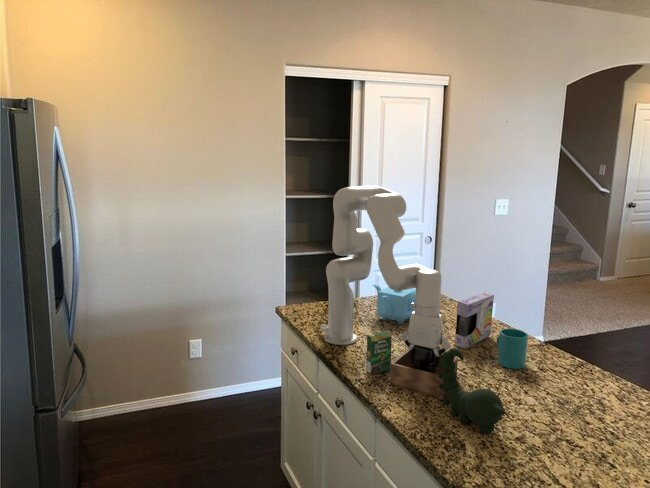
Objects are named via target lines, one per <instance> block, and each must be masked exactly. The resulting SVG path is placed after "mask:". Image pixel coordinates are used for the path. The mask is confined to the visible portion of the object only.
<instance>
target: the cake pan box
mask: <svg viewBox="0 0 650 488" xmlns="http://www.w3.org/2000/svg"><path fill="white" fill-rule="evenodd" d="M494 298H495V294H493V293H489V292H486V291H483V292H480V293H479V294H474V295H471V296H468V297H467V298H464V299H461V300H458V301H457V306H456V307H457V309H456V322H455V334H454V335H455V336H454V346H456V347H457V348H458V347H459V348H461V349H467V348H469V347H471V346H473V345H475V344H477V343H479V342H481V341H483V340H485V339H487V338H489V337H491V329H492V322H493V321H492V318H493V310H494V309H493V308H494Z"/></svg>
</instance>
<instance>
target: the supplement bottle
mask: <svg viewBox="0 0 650 488" xmlns="http://www.w3.org/2000/svg"><path fill="white" fill-rule="evenodd" d="M434 356H435V353H434V350H433V349H431V348H426V347H422V346H418V345H415V347H414V360H413V368H414V369H418V370H422V371H426V372H429V373H433V374H435V368H433V357H434Z"/></svg>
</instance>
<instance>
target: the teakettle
mask: <svg viewBox="0 0 650 488" xmlns="http://www.w3.org/2000/svg"><path fill="white" fill-rule="evenodd" d="M372 286H373V288H375V290H376V292H377V302H376V303H377V305H376V306H377V307H376V317H379V318H381V320H382V321H389V320H393V321H396V323H397V324H399V325H403V324H405V322H404V321H406V320H410V318H411V314H412V312H413V311H414V308H413V307H411V303H415V294H416V288H412V289H407V290H402V291H394V290H392V289H391V288H389V286H387V287H384V288H383V289H382V288H381V287H380V286H379V285H377V284H372Z"/></svg>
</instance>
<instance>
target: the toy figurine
mask: <svg viewBox="0 0 650 488" xmlns="http://www.w3.org/2000/svg"><path fill="white" fill-rule="evenodd" d="M454 357H457V358H458V359H460V360H461V361H464V355H463V352H462V350H460V349H458V347H457V348H456V347H452V348H451V347H450V348H449V349H448V351H445V352H444V353H443V355H442V354H441V355H440V359H442V361H443V362H442V363H439V367H440V368H442V370H443V372H442V373H439V374H438V377H439V378H442V379H443V383H441V384H440V385H439V389H441V390H443V389H444V391H445V397H444V398H443V399H442V404H443V405H444V406H449V405H450V409H449V413H450V415H452V416H453V417H454V416H457V415H458V419H459V421H460V422H462V423H465V422H468V421H469V420H470V422H471V423H474V424H475V425H477V426H478V430H479V432H480V433H481V434H482V435H488V434H491V433H492V432H494V430H495V429H496V428H495V425H496V424H497V423H499V422H500V421H501V420H502V419H503V415H505V414H506V411H505V410H504V405H503V403H502V400H501V398H500V397H499V395H497V393H495V391H493V390H490V389H487V388H477V389H474V390H473V391H470V392H466V391H464V390H463V389H462V388H461V387H460V383H459V381H458V380H457V377H458V376H457V374H458V373H457V374H456V372H455V371H454V370H455V367H456V366H455V363H454Z"/></svg>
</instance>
